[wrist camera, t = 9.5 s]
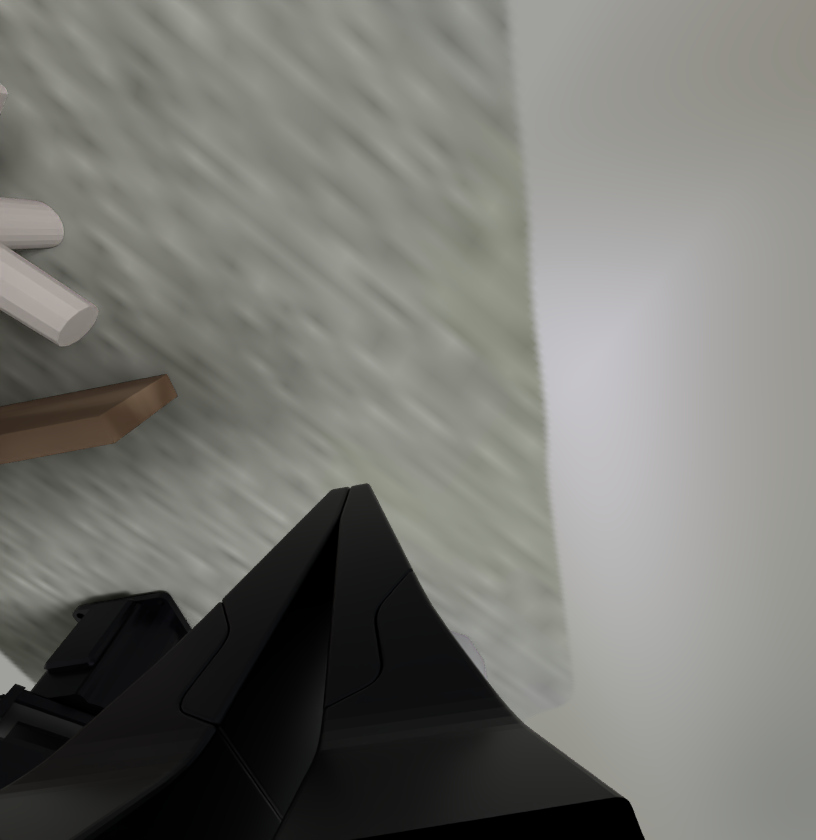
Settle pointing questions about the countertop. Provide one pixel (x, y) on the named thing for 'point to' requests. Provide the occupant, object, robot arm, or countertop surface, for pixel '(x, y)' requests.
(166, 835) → the robot arm
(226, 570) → the countertop surface
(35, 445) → the walnut bay
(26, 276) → the pipe connector
